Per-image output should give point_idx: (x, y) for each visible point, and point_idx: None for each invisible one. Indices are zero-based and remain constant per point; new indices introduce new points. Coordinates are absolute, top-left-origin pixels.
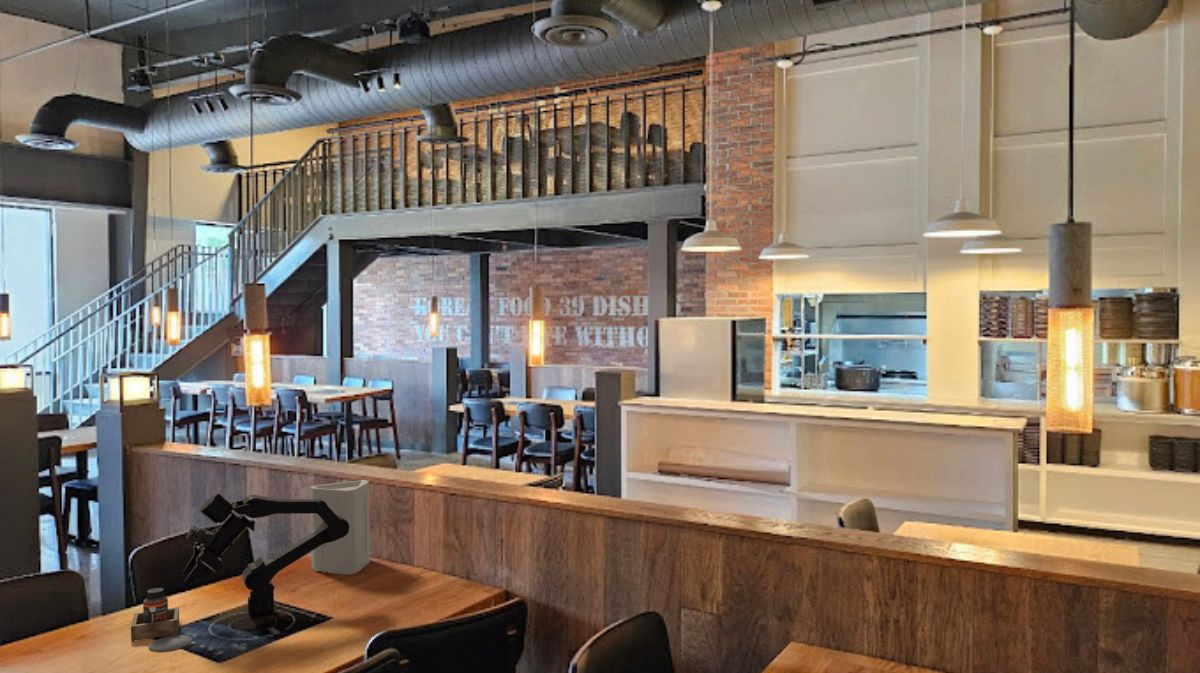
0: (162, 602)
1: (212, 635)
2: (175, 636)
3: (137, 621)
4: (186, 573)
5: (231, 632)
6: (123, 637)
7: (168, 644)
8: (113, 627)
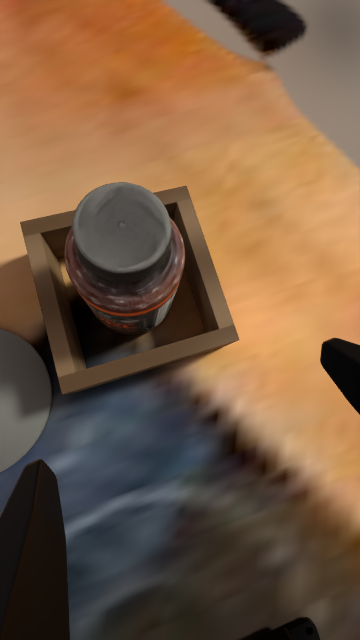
0: (87, 300)
1: None
2: (38, 396)
3: None
4: (329, 368)
5: None
6: None
7: None
8: (194, 152)
